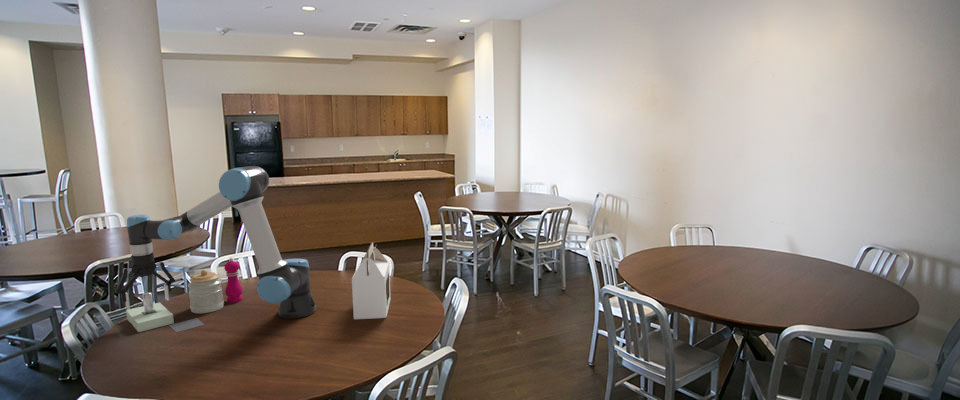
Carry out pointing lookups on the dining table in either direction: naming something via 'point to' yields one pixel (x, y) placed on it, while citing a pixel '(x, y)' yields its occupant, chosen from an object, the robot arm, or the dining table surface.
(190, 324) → the mat
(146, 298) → the pin
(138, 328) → the socket block
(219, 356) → the dining table surface
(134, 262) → the robot arm
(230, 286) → the pepper mill
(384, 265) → the gable box
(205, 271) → the jar
